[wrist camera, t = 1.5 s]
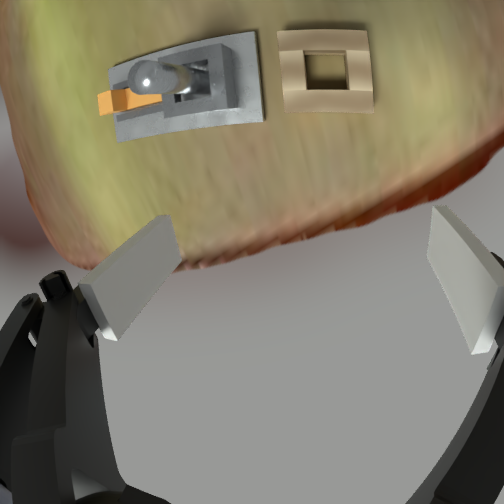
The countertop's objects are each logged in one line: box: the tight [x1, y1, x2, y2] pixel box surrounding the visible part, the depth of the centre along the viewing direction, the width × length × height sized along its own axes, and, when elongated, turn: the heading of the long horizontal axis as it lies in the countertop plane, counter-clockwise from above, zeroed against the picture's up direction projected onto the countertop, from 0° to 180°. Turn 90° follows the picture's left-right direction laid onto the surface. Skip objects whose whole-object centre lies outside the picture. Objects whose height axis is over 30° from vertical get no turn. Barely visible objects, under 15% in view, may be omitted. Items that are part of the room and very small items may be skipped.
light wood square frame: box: [277, 29, 374, 114], centre depth 28 cm, size 10×10×4 cm
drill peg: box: [127, 60, 211, 95], centre depth 26 cm, size 3×3×14 cm
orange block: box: [98, 88, 162, 116], centre depth 32 cm, size 3×8×5 cm, turn 95°
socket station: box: [108, 31, 265, 143], centre depth 32 cm, size 12×22×5 cm, turn 95°
